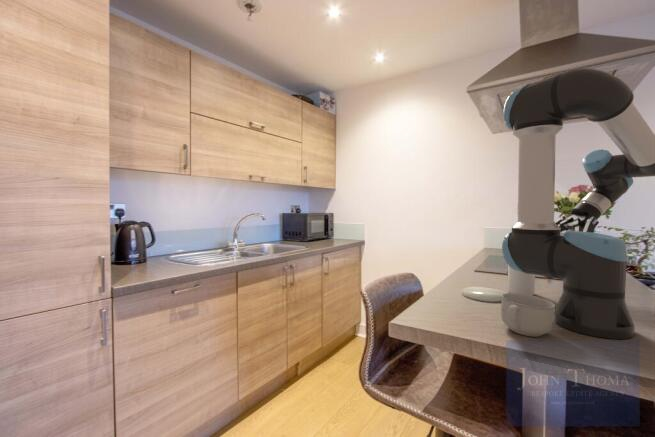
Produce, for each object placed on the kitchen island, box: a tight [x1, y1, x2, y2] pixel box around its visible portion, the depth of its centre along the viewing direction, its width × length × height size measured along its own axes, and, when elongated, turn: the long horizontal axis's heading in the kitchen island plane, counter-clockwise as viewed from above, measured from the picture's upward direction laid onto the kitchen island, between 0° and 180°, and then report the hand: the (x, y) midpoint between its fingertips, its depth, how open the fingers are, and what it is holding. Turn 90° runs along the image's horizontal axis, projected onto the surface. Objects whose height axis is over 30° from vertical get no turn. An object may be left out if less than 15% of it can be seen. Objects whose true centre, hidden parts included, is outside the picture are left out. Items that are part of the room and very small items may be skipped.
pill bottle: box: [507, 264, 536, 296], centre depth 107 cm, size 8×8×15 cm
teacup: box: [500, 292, 557, 338], centre depth 73 cm, size 14×11×8 cm
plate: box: [461, 286, 507, 303], centre depth 104 cm, size 14×14×1 cm
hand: (545, 252), depth 107 cm, fingers open, 13 cm apart
